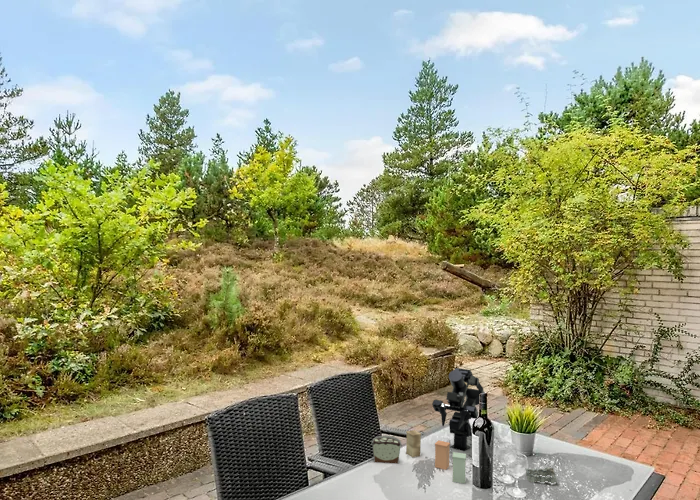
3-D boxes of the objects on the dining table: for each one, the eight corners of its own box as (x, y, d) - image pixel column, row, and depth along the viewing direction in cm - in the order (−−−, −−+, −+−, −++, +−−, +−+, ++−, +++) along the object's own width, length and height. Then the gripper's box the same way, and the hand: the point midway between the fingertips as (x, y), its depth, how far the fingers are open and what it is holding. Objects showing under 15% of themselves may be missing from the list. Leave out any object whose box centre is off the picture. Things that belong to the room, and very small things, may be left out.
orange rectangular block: (438, 463, 183) (438, 440, 183) (449, 465, 180) (450, 442, 181) (434, 467, 179) (434, 443, 179) (446, 470, 176) (446, 446, 177)
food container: (401, 460, 187) (401, 436, 188) (401, 467, 181) (402, 441, 181) (371, 458, 188) (372, 434, 189) (370, 465, 182) (371, 440, 183)
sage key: (452, 476, 171) (452, 452, 171) (465, 478, 170) (466, 453, 170) (452, 481, 167) (452, 456, 167) (465, 483, 166) (465, 458, 166)
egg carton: (554, 478, 175) (554, 467, 175) (557, 487, 168) (557, 476, 168) (524, 474, 178) (525, 463, 178) (526, 482, 171) (527, 471, 171)
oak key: (414, 451, 193) (414, 430, 194) (420, 455, 189) (421, 433, 189) (405, 453, 192) (406, 431, 192) (412, 457, 187) (412, 435, 188)
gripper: (433, 380, 199) (424, 413, 189) (476, 387, 190) (469, 421, 180) (439, 394, 206) (430, 426, 196) (481, 401, 196) (474, 435, 186)
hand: (450, 427), depth 189 cm, fingers open, 6 cm apart
